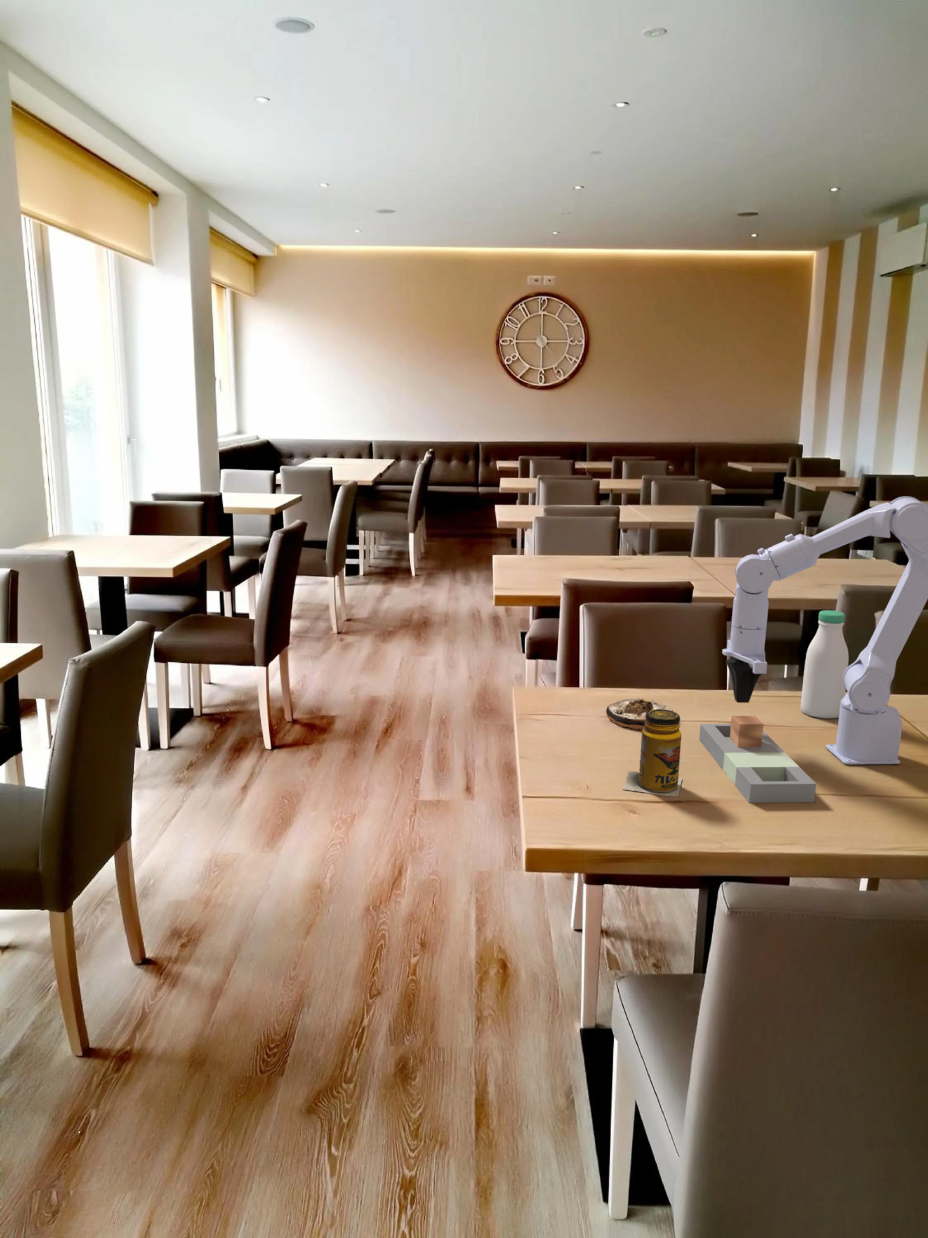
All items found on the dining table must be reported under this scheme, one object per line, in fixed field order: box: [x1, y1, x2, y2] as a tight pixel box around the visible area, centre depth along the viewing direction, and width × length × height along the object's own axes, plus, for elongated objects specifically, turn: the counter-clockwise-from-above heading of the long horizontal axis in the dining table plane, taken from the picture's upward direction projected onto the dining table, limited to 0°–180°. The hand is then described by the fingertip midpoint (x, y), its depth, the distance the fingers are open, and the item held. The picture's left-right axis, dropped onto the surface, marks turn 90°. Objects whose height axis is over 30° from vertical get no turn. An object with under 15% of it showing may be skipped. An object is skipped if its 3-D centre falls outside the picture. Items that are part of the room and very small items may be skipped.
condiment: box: [622, 708, 683, 798], centre depth 146 cm, size 7×8×12 cm
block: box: [730, 715, 764, 747], centre depth 157 cm, size 4×4×4 cm
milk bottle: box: [800, 609, 849, 720], centre depth 179 cm, size 8×8×20 cm
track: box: [699, 723, 817, 804], centre depth 154 cm, size 10×26×3 cm, turn 3°
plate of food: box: [605, 697, 674, 731], centre depth 176 cm, size 15×15×4 cm
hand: (741, 701), depth 163 cm, fingers closed
